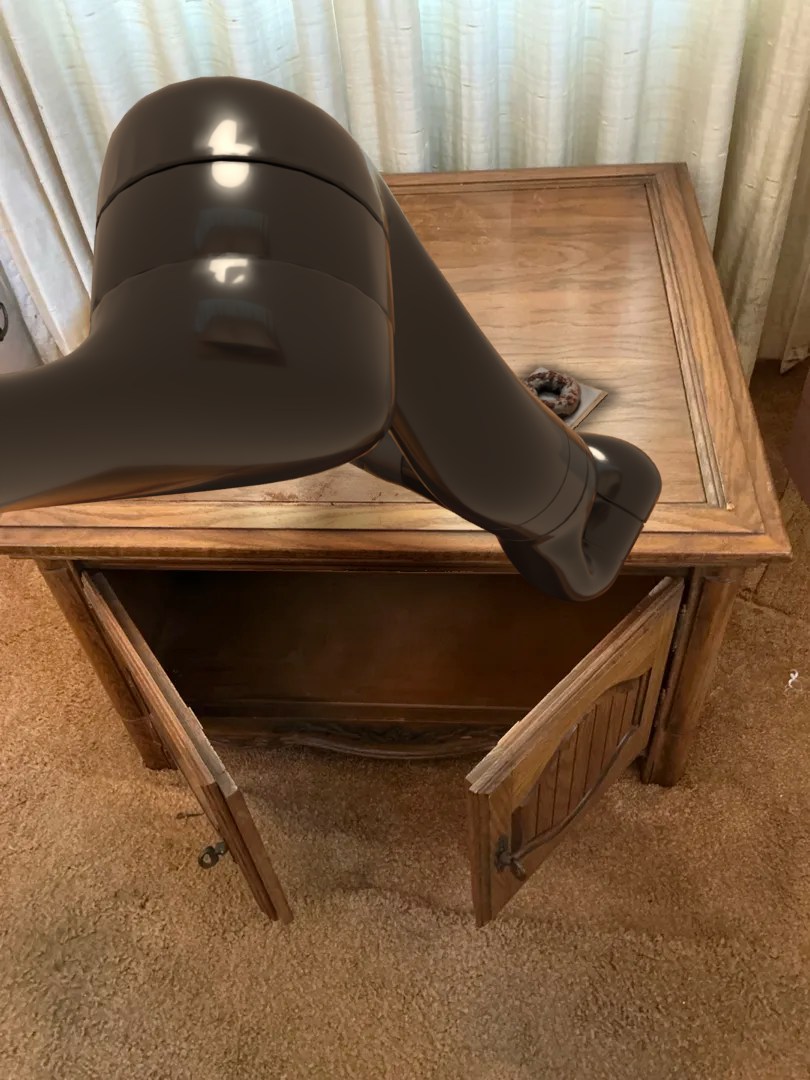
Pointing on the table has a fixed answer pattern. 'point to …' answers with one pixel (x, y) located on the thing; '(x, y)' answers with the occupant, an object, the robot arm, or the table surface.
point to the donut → (564, 395)
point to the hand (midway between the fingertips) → (225, 345)
